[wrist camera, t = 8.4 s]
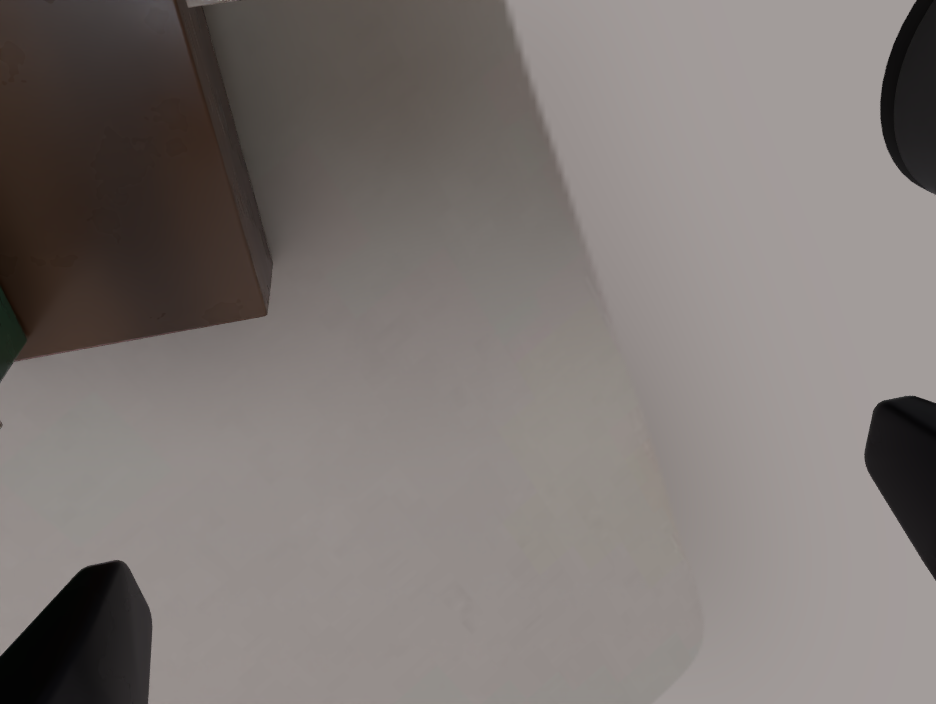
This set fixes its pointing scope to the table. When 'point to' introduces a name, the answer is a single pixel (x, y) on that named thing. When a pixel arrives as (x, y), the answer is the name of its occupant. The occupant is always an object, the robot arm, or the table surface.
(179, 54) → the brown wooden square board
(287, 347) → the table surface
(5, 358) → the book
